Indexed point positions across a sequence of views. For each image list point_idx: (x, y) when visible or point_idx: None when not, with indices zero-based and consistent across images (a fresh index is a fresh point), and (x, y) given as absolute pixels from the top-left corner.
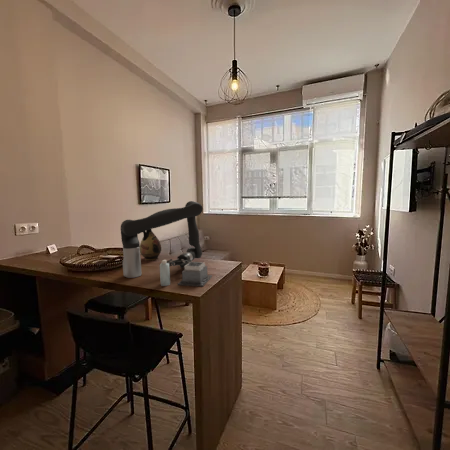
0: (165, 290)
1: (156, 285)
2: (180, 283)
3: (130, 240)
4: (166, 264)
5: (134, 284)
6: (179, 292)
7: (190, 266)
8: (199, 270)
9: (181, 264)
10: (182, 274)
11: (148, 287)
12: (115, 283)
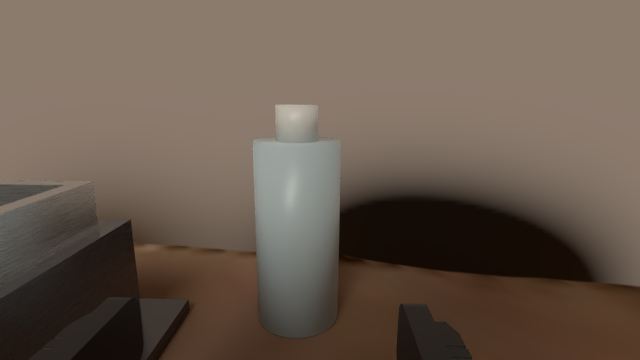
0: None
1: (356, 293)
2: (162, 301)
3: None
4: (272, 139)
5: (531, 291)
6: (170, 251)
7: (23, 182)
8: None
9: (105, 304)
10: (131, 246)
11: (387, 272)
12: None
